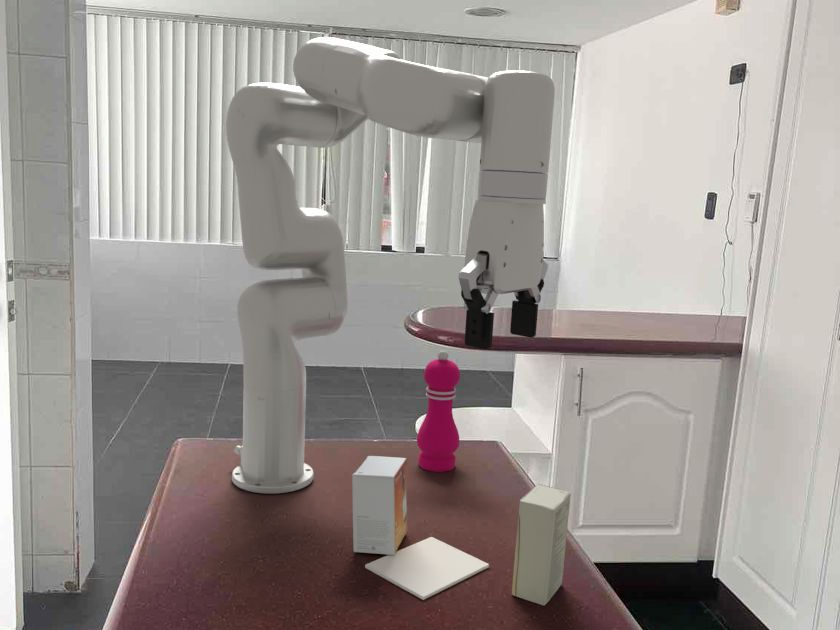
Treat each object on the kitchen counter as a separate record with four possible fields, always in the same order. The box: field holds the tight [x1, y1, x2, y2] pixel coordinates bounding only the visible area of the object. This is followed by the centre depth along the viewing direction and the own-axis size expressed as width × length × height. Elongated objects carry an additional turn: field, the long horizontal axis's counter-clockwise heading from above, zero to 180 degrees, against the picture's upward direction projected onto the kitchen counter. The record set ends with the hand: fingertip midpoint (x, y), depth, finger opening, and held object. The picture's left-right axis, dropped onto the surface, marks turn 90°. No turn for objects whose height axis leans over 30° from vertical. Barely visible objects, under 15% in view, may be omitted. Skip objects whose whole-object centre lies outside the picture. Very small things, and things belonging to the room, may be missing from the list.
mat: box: [364, 536, 490, 601], centre depth 99 cm, size 10×12×1 cm
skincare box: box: [511, 483, 572, 606], centre depth 94 cm, size 6×4×12 cm
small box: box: [351, 455, 408, 556], centre depth 104 cm, size 8×6×10 cm
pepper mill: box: [416, 349, 461, 473], centre depth 132 cm, size 7×7×20 cm
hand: (501, 341), depth 90 cm, fingers open, 9 cm apart
